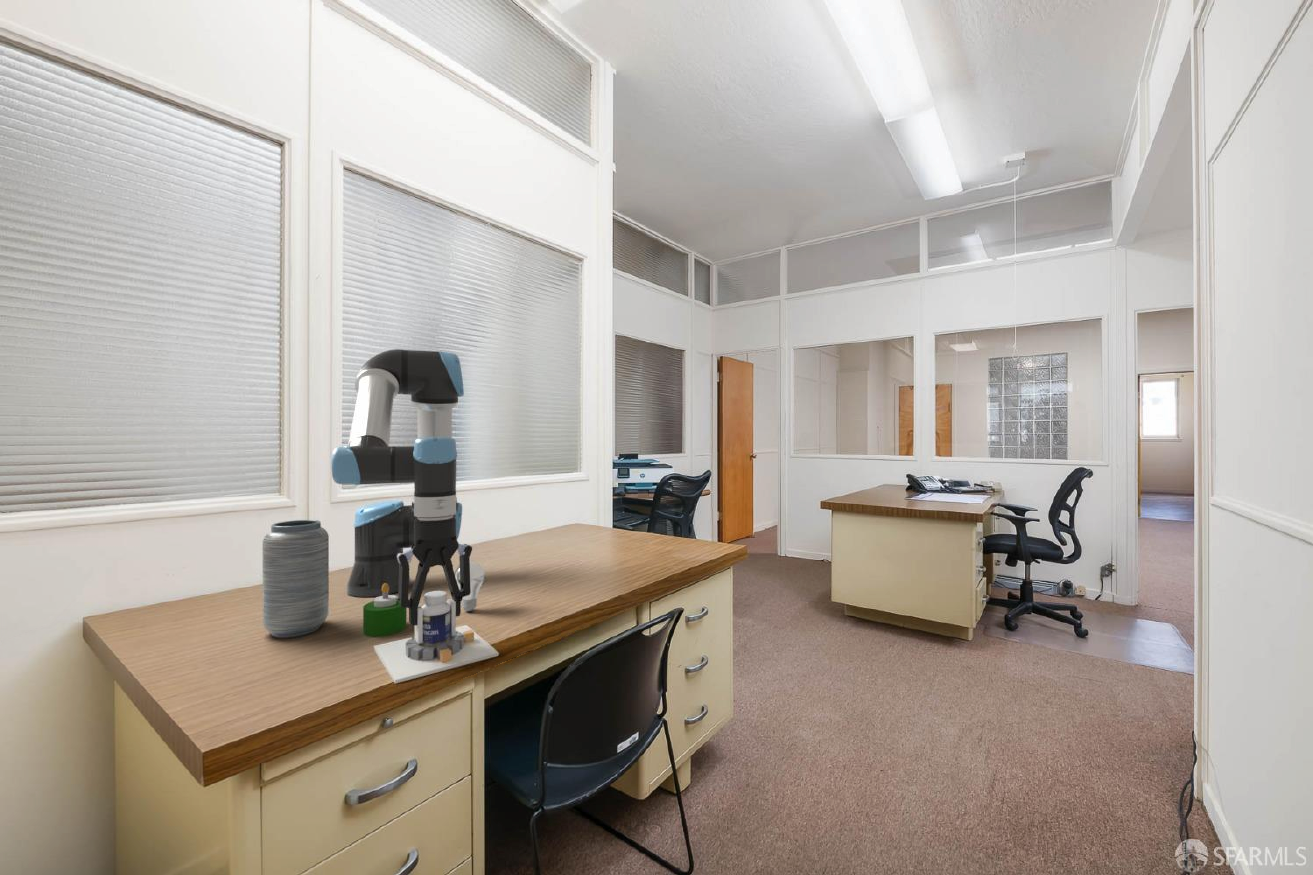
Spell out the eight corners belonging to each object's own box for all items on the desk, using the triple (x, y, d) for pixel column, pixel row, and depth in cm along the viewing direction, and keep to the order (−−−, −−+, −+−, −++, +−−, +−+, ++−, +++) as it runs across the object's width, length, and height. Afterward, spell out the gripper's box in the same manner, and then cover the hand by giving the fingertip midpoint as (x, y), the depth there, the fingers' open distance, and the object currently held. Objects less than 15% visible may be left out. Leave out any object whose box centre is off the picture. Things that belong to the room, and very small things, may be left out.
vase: (337, 619, 118) (337, 518, 118) (313, 638, 107) (313, 527, 107) (281, 621, 116) (281, 519, 116) (250, 642, 105) (249, 528, 105)
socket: (373, 648, 102) (373, 636, 102) (466, 627, 113) (466, 616, 113) (395, 683, 88) (395, 669, 88) (498, 655, 99) (498, 642, 99)
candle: (415, 624, 115) (415, 579, 115) (387, 638, 107) (387, 590, 107) (382, 620, 117) (382, 576, 117) (353, 634, 109) (353, 587, 109)
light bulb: (474, 617, 119) (474, 565, 119) (447, 615, 121) (447, 563, 121) (490, 607, 126) (490, 558, 126) (464, 605, 128) (464, 556, 127)
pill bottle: (415, 650, 98) (415, 598, 97) (425, 638, 103) (425, 589, 103) (445, 649, 98) (445, 597, 98) (453, 638, 103) (453, 589, 103)
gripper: (386, 525, 92) (387, 656, 92) (489, 515, 103) (489, 631, 103) (378, 519, 97) (378, 642, 98) (476, 510, 109) (476, 621, 109)
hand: (435, 636), depth 101 cm, fingers closed on pill bottle, 5 cm apart
